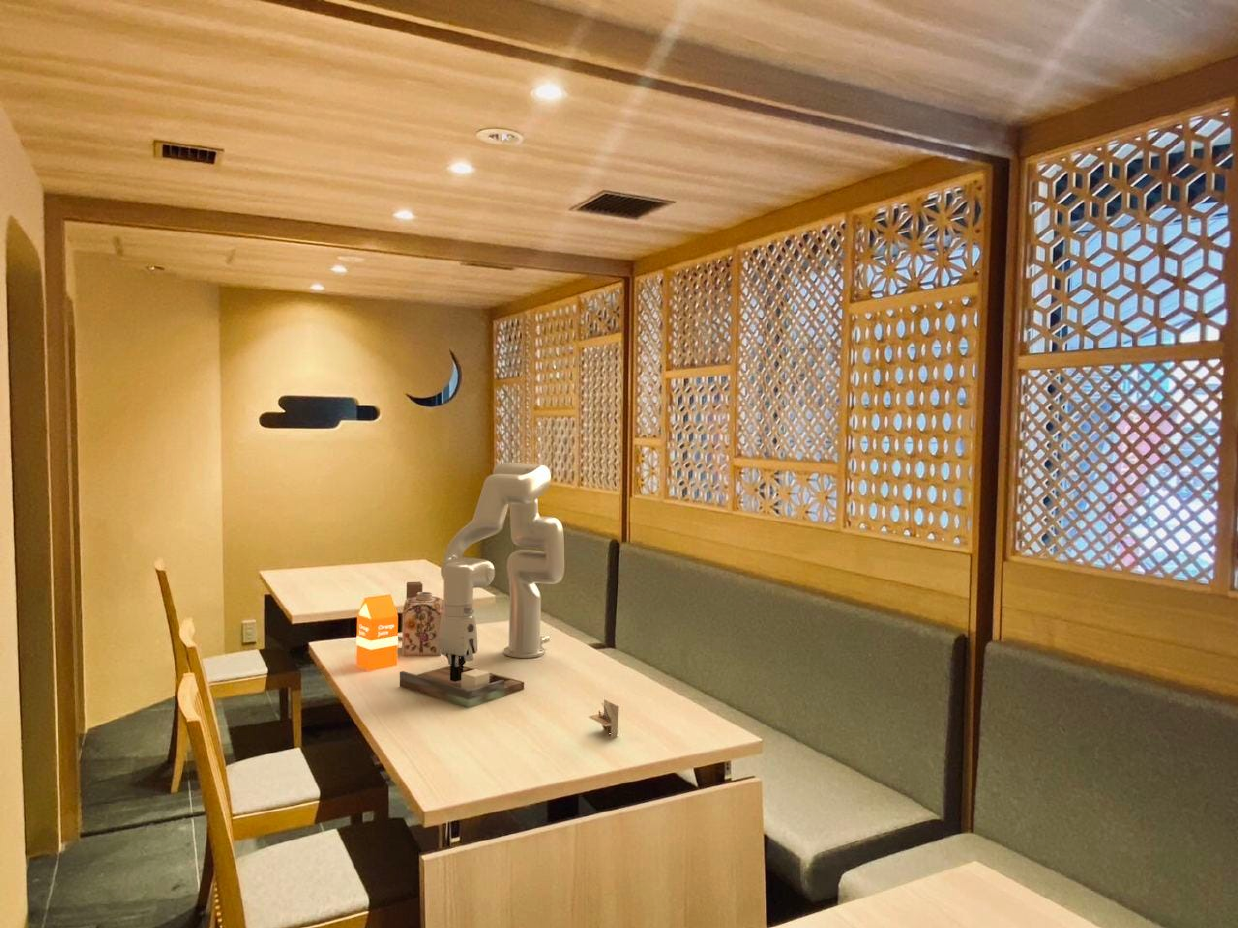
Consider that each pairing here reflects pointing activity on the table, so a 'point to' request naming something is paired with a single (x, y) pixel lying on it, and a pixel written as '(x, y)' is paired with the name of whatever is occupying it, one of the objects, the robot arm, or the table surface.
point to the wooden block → (413, 589)
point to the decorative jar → (422, 625)
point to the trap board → (458, 687)
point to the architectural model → (608, 718)
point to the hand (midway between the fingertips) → (456, 679)
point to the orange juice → (377, 633)
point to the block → (474, 679)
